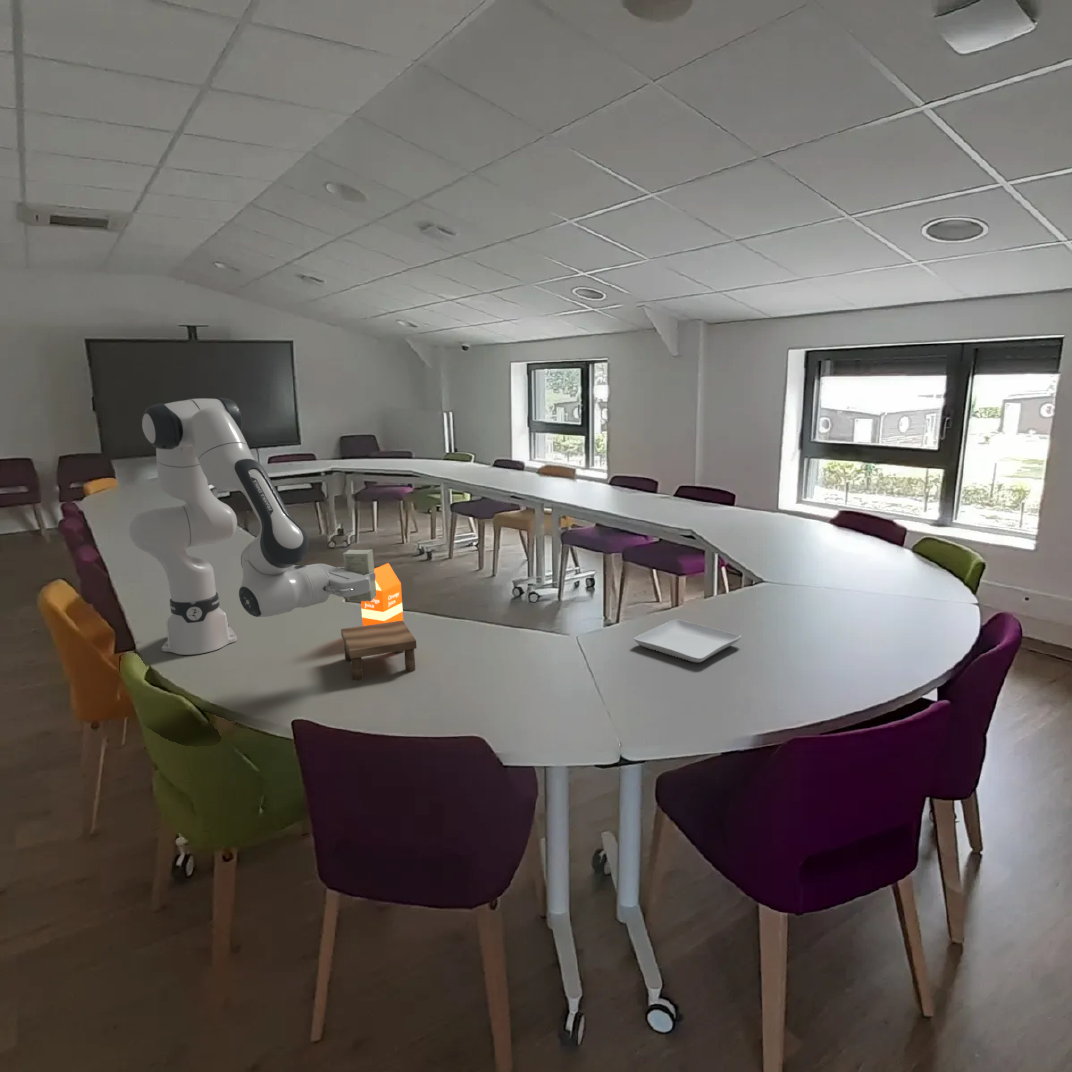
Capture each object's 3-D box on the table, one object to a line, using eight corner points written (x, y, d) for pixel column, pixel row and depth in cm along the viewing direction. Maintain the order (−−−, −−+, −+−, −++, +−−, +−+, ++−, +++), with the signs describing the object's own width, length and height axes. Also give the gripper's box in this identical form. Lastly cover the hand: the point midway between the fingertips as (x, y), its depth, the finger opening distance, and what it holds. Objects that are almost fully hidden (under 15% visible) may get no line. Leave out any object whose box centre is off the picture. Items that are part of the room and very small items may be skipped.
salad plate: (631, 648, 189) (631, 636, 188) (675, 628, 204) (676, 617, 203) (699, 671, 175) (700, 658, 174) (742, 647, 189) (743, 635, 189)
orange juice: (404, 631, 203) (400, 564, 199) (385, 641, 195) (381, 572, 191) (382, 627, 206) (377, 561, 202) (362, 637, 199) (357, 569, 194)
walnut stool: (343, 657, 184) (340, 629, 183) (403, 648, 190) (402, 620, 188) (352, 682, 170) (349, 650, 168) (417, 670, 176) (416, 640, 174)
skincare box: (376, 596, 175) (374, 549, 173) (371, 602, 171) (368, 553, 168) (352, 596, 176) (349, 548, 173) (346, 601, 172) (342, 553, 169)
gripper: (338, 580, 155) (388, 567, 165) (288, 564, 168) (338, 553, 178) (340, 607, 157) (390, 593, 167) (290, 590, 170) (340, 577, 180)
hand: (363, 572), depth 173 cm, fingers closed on skincare box, 7 cm apart
